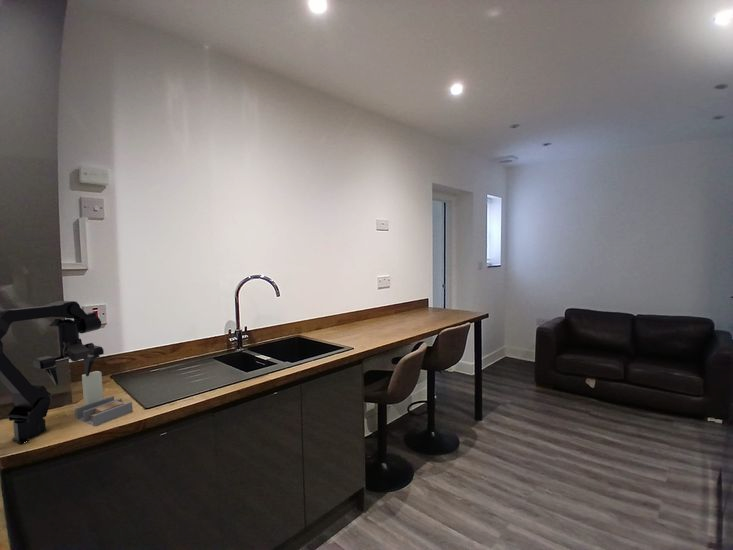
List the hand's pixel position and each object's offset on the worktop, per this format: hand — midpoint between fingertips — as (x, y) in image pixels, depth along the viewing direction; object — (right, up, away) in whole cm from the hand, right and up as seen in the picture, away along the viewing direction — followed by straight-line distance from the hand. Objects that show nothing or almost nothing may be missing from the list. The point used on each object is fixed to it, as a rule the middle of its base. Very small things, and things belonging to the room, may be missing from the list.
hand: (72, 380), depth 129 cm
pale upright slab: (+2, -12, +8) cm, 15 cm away
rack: (+11, -13, 0) cm, 17 cm away
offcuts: (+14, -12, -1) cm, 18 cm away
